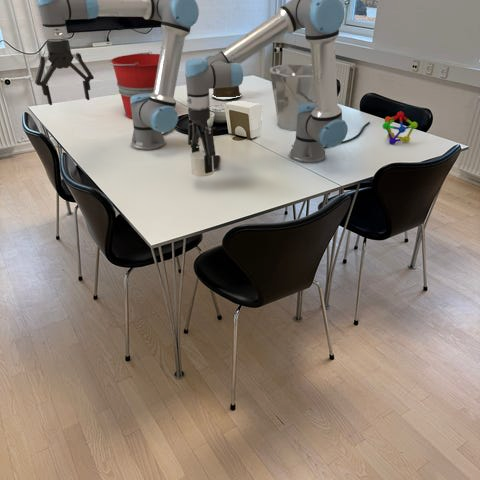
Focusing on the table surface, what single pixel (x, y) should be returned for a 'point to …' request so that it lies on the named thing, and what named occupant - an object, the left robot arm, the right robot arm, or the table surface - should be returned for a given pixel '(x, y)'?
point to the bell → (226, 92)
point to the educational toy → (398, 128)
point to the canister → (199, 164)
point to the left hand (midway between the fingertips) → (69, 101)
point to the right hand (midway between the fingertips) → (202, 168)
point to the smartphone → (216, 161)
